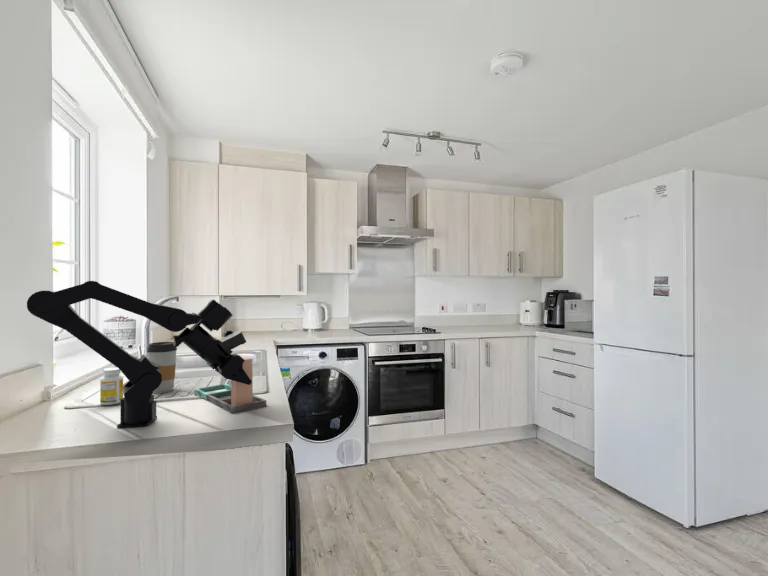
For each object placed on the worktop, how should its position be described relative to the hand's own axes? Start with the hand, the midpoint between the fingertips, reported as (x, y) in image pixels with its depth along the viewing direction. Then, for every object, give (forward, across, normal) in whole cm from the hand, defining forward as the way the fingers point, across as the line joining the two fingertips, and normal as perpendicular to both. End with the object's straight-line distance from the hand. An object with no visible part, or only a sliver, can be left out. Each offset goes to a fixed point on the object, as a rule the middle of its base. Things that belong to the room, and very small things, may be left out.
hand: (247, 381), depth 111 cm
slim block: (+4, 0, +6) cm, 7 cm away
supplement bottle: (-17, +24, +27) cm, 40 cm away
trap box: (+3, +9, +7) cm, 11 cm away
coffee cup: (-8, +31, +17) cm, 37 cm away
